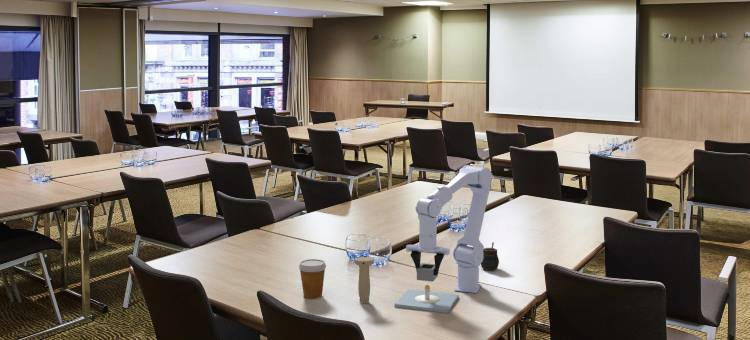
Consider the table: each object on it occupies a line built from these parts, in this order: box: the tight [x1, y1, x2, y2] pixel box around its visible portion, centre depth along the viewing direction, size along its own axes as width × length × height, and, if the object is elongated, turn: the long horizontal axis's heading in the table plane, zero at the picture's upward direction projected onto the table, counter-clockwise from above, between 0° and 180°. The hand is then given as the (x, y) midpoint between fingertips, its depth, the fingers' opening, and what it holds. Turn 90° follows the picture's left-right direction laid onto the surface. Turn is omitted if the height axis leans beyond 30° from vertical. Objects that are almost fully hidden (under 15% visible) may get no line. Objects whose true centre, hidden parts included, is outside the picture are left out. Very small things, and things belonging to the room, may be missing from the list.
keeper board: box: [394, 284, 460, 314], centre depth 235 cm, size 16×18×6 cm
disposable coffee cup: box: [298, 258, 327, 300], centre depth 241 cm, size 10×10×12 cm
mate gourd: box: [480, 241, 500, 272], centre depth 273 cm, size 7×8×10 cm
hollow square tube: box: [416, 262, 439, 282], centre depth 234 cm, size 6×6×4 cm
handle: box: [354, 256, 375, 304], centre depth 235 cm, size 5×6×15 cm
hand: (427, 273), depth 234 cm, fingers closed on hollow square tube, 6 cm apart
